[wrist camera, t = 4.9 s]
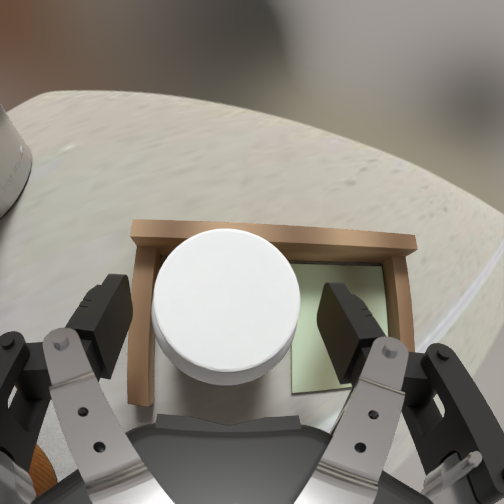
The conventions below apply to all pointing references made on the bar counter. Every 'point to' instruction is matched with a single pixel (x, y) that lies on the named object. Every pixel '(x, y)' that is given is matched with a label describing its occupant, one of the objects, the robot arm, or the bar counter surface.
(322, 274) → the bay
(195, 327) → the supplement bottle
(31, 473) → the disposable coffee cup
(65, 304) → the bar counter surface
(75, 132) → the bar counter surface
